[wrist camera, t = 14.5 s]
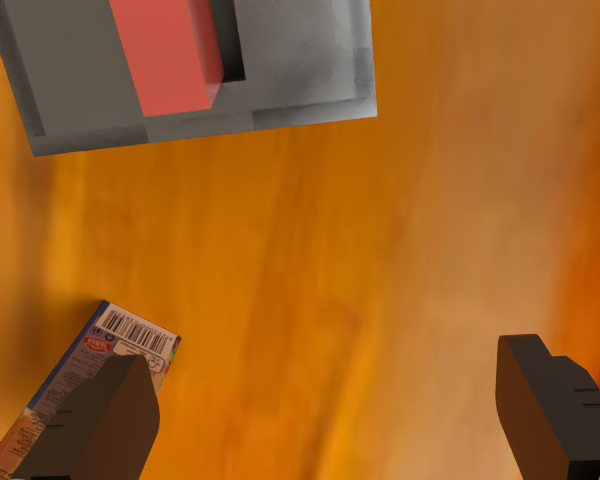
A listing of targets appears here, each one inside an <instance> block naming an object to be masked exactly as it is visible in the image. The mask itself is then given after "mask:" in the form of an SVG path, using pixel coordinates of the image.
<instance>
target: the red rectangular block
mask: <svg viewBox="0 0 600 480" xmlns="http://www.w3.org/2000/svg"><path fill="white" fill-rule="evenodd" d="M109 3H110V6H111V9H112V12H113V16H114V19H115V22H116V26H117V29H118V32H119V36H120V39H121V42H122V46H123V49H124V52H125V55H126V59H127V62H128V65H129V69H130V72H131V75H132V79H133V82H134V85H135V89H136V92H137V95H138V99H139V102H140V105H141V108H142V112H143V115H144V117H147V116H155V115H164V114H172V113H180V112H188V111H196V110H205V109H211V106H212V104H213V101H214V99H215V97H216V94H217V92H218V89H219V87H220V85H221V82H222V80H223V77H224V75H225V73H224V69H223V64H222V59H221V54H220V49H219V44H218V39H217V34H216V30H215V25H214V20H213V15H212V10H211V5H210V0H109Z"/></svg>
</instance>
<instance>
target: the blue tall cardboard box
mask: <svg viewBox="0 0 600 480" xmlns="http://www.w3.org/2000/svg"><path fill="white" fill-rule="evenodd" d="M181 338H182V337H180V336H178V335H176V334H174V333H172V332H170V331H168V330H166V329H164V328H161V327H159V326H157V325H155V324H153V323H151V322H149V321H147V320H145V319H143V318H141V317H139V316H137V315H135V314H133V313H131V312H129V311H127V310H125V309H123V308H121V307H119V306H117V305H115V304H112V303H110V302H108V301H106V300H104V301H103V302H102V304H101V305H100V306H99V308H98V309H97V310H96V312H95V313H94V315H93V316H92V317H91V319H90V320H89V321H88V323H87V324H86V325H85V327H84V328H83V330H82V331H81V332H80V334H79V335H78V336H77V338H76V339H75V341H74V342H73V343H72V345H71V346H70V347H69V349H68V350H67V351H66V353H65V354H64V356H63V357H62V358H61V360H60V361H59V362H58V364H57V365H56V367H55V368H54V369H53V371H52V372H51V373H50V375H49V376H48V377H47V379H46V380H45V382H44V383H43V384H42V386H41V387H40V388H39V390H38V391H37V393H36V394H35V395H34V397H33V398H32V399H31V401H30V402H29V403H28V405H27V406H26V408H25V409H24V410H23V412H22V413H21V414H20V416H19V417H18V419H17V420H16V421H15V423H14V424H13V425H12V427H11V428H10V429H9V431H8V432H7V434H6V435H5V436H4V438H3V439H2V440H1V442H0V480H9V479H10V477H11V476H12V474H13V473H14V471H15V470H16V468H17V467H18V466H19V464H20V463H21V461H22V460H23V458H24V457H25V455H26V454H27V453H28V451H29V450H30V448H31V447H32V445H33V444H34V442H35V441H36V439H37V438H38V437H39V435H40V434H41V432H42V431H43V429H46V425H47V423H48V422H49V421H50V419H51V418H52V416H53V415H54V414H56V410H57V409H58V408H59V406H60V405H61V403H62V402H63V400H64V399H65V397H66V396H67V394H68V393H70V392H71V391H72V390H73V389H75V388H76V387H77V386H78V385H79V384H81V383H82V382H83V381H84V380H86V379H90V378H94V377H95V376H96V374H97V373H98V371H99V369H100V368H101V366H102V365H103V363H104V362H105V360H106V359H107V358H108V357H109V356H113V355H131V354H143V355H144V356H145V358H146V360H147V363H148V366H149V370H150V374H151V378H152V382H153V386H154V390H155V393H156V397H157V396H158V394H159V391H160V389H161V386H162V384H163V382H164V379H165V377H166V374H167V372H168V369H169V367H170V365H171V362H172V360H173V357H174V355H175V352H176V350H177V348H178V345H179V343H180V340H181Z"/></svg>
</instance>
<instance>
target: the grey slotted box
mask: <svg viewBox="0 0 600 480" xmlns="http://www.w3.org/2000/svg"><path fill="white" fill-rule="evenodd" d="M210 5H211V10H212V15H213V20H214V25H215V30H216V34H217V39H218V44H219V49H220V54H221V59H222V64H223V69H224V73H225V75H224V77H223V80H222V82H221V85H220V87H219V89H218V92H217V94H216V97H215V99H214V101H213V104H212V106H211V109H205V110H196V111H188V112H180V113H172V114H164V115H155V116H147V117H144V115H143V112H142V108H141V105H140V102H139V99H138V95H137V92H136V89H135V85H134V82H133V79H132V75H131V72H130V69H129V65H128V62H127V59H126V55H125V52H124V49H123V46H122V42H121V39H120V36H119V32H118V29H117V26H116V22H115V19H114V16H113V12H112V9H111V6H110V3H109V0H0V54H1V57H2V60H3V63H4V66H5V69H6V72H7V75H8V78H9V81H10V85H11V88H12V91H13V94H14V97H15V100H16V103H17V106H18V109H19V112H20V115H21V118H22V121H23V124H24V127H25V131H26V134H27V137H28V140H29V143H30V146H31V149H32V152H33V155H34V157H36V156H44V155H53V154H61V153H70V152H78V151H87V150H95V149H104V148H112V147H120V146H129V145H137V144H146V143H154V142H163V141H171V140H180V139H188V138H197V137H205V136H214V135H222V134H231V133H239V132H247V131H256V130H264V129H273V128H281V127H290V126H298V125H307V124H315V123H324V122H332V121H341V120H349V119H357V118H366V117H374V116H377V106H376V91H375V76H374V61H373V46H372V30H371V15H370V0H210Z"/></svg>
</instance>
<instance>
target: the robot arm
mask: <svg viewBox="0 0 600 480" xmlns="http://www.w3.org/2000/svg"><path fill="white" fill-rule="evenodd" d="M495 396H496V406H497V412H498V416H499V420H500V423H501V425H502V428H503V430H504V433H505V435H506V438H507V440H508V443H509V445H510V447H511V450H512V452H513V455H514V457H515V460H516V462H517V465H518V467H519V470H520V472H521V475H522V477H523V479H524V480H600V391H599V387H598V386H597V384H596V383H595V382H594V380H593V379H592V377H591V376H590V374H589V373H588V372H587V370H585V369H584V368H582V367H581V366H580V365H578V364H577V363H575V362H574V361H572V360H571V359H570V358H568V357H567V356H551V354H550V353H549V351H548V350H547V348H546V346H545V345H544V343H543V342H542V340H541V338H540V337H539V336H538V335H537V334H522V335H503V336H500V337H499V340H498V351H497V371H496V391H495ZM159 421H160V412H159V405H158V401H157V397H156V393H155V390H154V386H153V382H152V378H151V374H150V370H149V366H148V363H147V360H146V358H145V356H144V355H143V354H131V355H113V356H109V357H108V358H107V359H106V360H105V362H104V363H103V365H102V366H101V368H100V369H99V371H98V373H97V374H96V376H95V377H94V378H90V379H86V380H84V381H83V382H82V383H81V384H79V385H78V386H77V387H76V388H75V389H73V390H72V391H71V392H70V393H68V394H67V396H66V397H65V399H64V400H63V402H62V403H61V405H60V406H59V408H58V409H57V410H56V414H54V415H53V416H52V418H51V419H50V421H49V422H48V423H47V425H46V429H43V431H42V432H41V434H40V435H39V437H38V438H37V439H36V441H35V442H34V444H33V445H32V447H31V448H30V450H29V451H28V453H27V454H26V455H25V457H24V458H23V460H22V461H21V463H20V464H19V466H18V467H17V468H16V470H15V471H14V473H13V474H12V476H11V477H10V479H9V480H138V479H139V477H140V475H141V472H142V470H143V467H144V465H145V462H146V460H147V458H148V455H149V453H150V450H151V448H152V446H153V443H154V441H155V438H156V436H157V433H158V429H159Z"/></svg>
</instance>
